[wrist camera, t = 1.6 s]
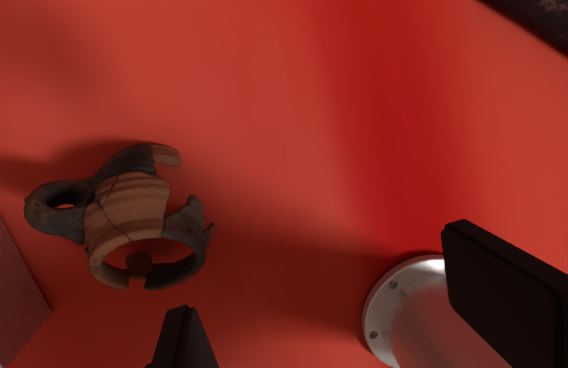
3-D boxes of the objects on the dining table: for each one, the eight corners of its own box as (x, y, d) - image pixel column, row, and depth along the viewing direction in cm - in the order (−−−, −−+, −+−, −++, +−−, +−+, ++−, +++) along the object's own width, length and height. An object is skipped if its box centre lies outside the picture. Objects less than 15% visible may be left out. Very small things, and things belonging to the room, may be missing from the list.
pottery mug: (217, 143, 27) (233, 222, 21) (194, 219, 33) (202, 297, 27) (34, 117, 22) (-8, 214, 16) (45, 214, 27) (17, 309, 22)
